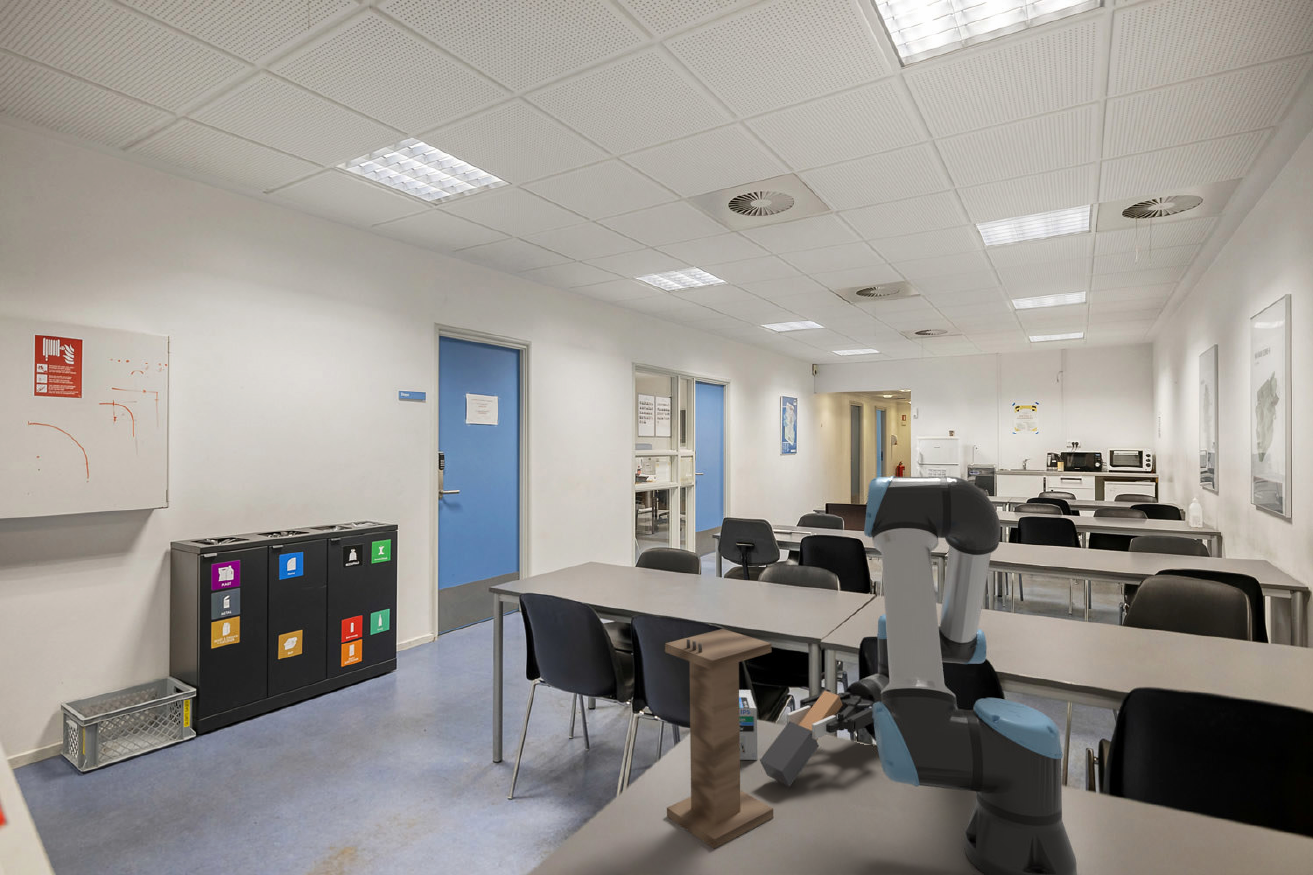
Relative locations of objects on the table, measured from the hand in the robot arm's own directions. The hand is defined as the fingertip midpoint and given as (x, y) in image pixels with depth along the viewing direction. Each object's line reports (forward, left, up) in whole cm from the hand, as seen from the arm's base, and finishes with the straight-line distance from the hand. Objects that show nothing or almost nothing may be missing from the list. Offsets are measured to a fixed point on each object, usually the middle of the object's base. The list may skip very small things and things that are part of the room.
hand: (800, 726), depth 129 cm
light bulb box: (+16, +1, -10) cm, 19 cm away
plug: (0, -2, -3) cm, 4 cm away
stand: (0, +22, -10) cm, 24 cm away
